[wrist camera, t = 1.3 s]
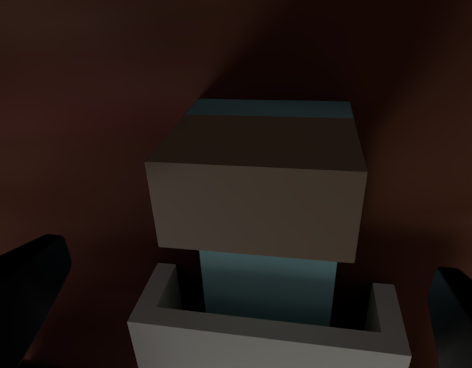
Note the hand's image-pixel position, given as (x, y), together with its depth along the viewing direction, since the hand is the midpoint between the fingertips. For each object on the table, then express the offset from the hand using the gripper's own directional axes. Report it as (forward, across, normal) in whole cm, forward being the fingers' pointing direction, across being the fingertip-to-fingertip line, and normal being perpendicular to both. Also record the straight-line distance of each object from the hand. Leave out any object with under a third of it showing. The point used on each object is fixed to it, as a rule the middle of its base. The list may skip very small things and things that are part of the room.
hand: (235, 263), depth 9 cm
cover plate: (+8, 0, +6) cm, 10 cm away
